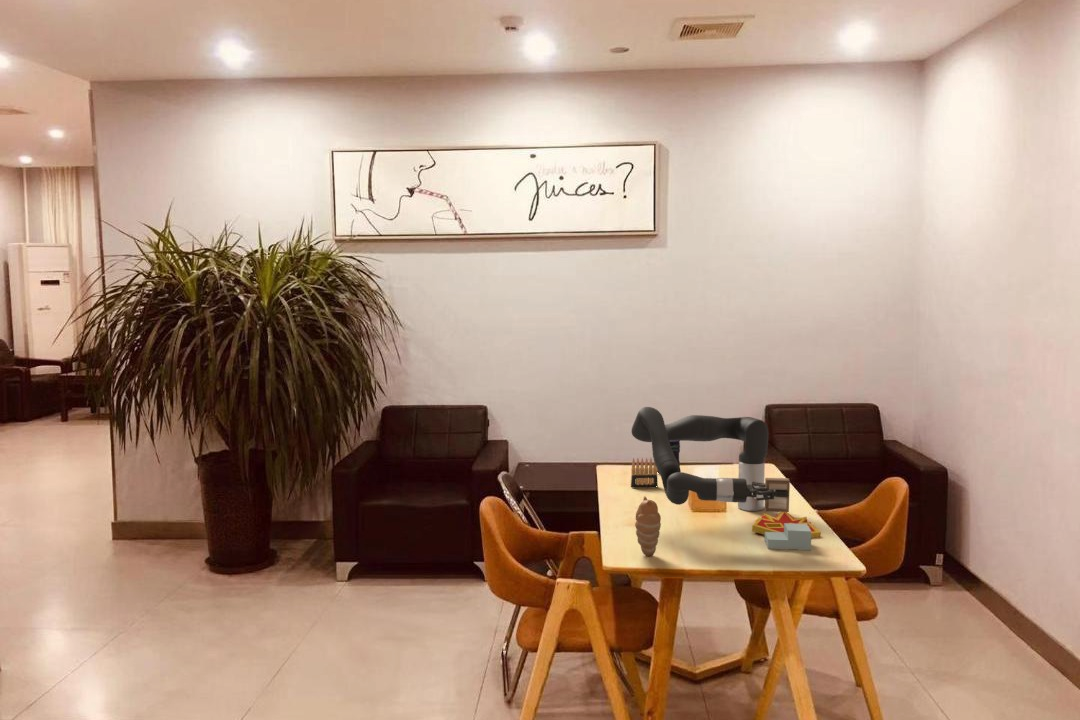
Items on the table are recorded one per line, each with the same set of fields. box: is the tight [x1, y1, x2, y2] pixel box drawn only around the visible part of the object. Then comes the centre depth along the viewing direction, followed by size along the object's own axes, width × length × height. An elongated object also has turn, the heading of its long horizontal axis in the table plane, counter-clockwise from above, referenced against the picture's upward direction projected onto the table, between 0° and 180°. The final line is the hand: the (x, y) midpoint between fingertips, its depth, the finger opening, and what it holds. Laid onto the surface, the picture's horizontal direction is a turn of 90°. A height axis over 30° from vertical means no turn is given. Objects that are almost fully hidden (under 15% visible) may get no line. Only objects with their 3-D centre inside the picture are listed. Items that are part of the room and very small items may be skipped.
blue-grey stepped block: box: [764, 523, 812, 551], centre depth 270 cm, size 8×13×6 cm, turn 83°
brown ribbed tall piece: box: [634, 495, 662, 557], centre depth 260 cm, size 9×8×18 cm
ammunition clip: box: [630, 457, 659, 488], centre depth 345 cm, size 11×2×12 cm, turn 93°
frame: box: [763, 477, 791, 513], centre depth 269 cm, size 3×7×10 cm, turn 83°
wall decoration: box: [751, 512, 821, 539], centre depth 290 cm, size 22×31×4 cm
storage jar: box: [657, 441, 681, 473], centre depth 368 cm, size 10×10×15 cm
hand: (786, 491), depth 268 cm, fingers closed on frame, 3 cm apart
